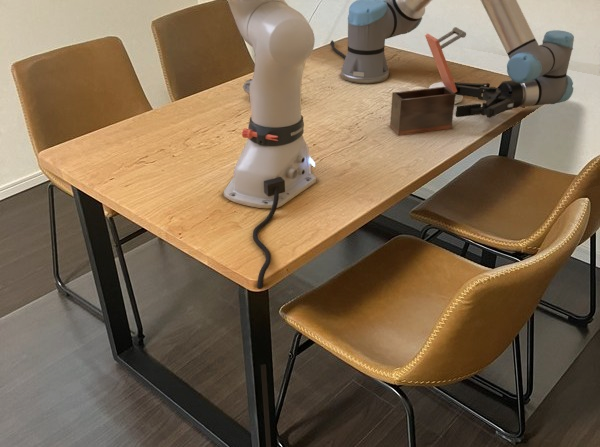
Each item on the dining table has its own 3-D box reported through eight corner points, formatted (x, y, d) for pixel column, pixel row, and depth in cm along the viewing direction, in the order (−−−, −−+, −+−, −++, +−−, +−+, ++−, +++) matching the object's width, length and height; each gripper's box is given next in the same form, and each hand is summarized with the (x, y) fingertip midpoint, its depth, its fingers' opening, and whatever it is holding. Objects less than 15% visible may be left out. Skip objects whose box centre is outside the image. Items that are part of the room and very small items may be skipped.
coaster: (424, 93, 186) (425, 82, 184) (456, 91, 187) (457, 80, 185) (433, 106, 178) (434, 94, 176) (467, 104, 179) (468, 92, 177)
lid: (435, 41, 151) (464, 24, 150) (424, 35, 156) (452, 18, 155) (454, 93, 160) (481, 76, 159) (444, 85, 164) (470, 69, 164)
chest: (398, 135, 162) (401, 100, 157) (389, 126, 167) (392, 92, 162) (451, 128, 165) (455, 94, 160) (441, 120, 170) (445, 86, 165)
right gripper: (540, 124, 160) (465, 134, 155) (491, 91, 180) (423, 99, 176) (546, 96, 156) (469, 105, 151) (495, 66, 176) (426, 73, 172)
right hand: (444, 102), depth 164 cm, fingers open, 13 cm apart
